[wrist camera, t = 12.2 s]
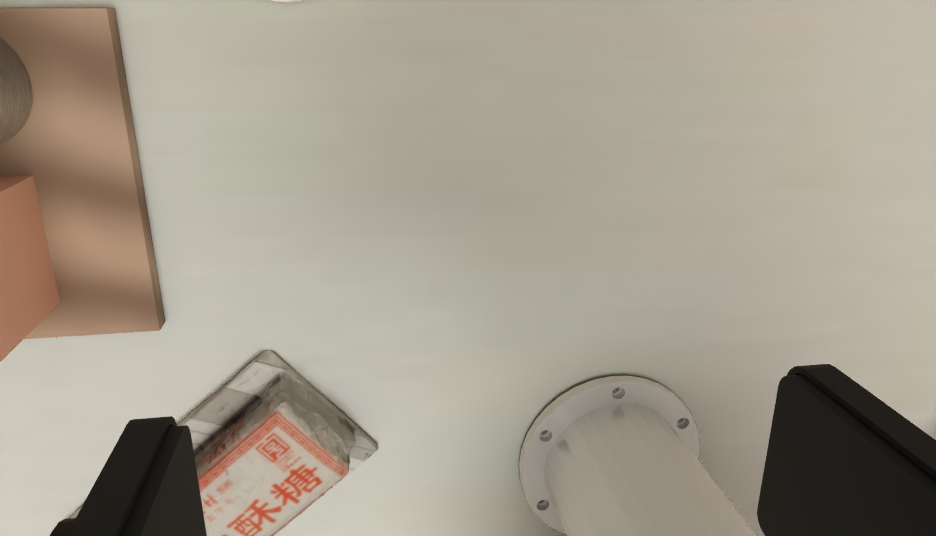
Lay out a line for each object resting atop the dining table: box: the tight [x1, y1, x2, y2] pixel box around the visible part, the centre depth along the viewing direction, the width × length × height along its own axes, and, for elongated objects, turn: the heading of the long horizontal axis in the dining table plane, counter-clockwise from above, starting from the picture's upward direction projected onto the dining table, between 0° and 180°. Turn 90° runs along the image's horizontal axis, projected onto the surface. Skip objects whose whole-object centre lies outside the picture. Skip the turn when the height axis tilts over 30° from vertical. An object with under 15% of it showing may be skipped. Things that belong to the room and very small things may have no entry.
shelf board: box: [0, 8, 165, 339], centre depth 35 cm, size 17×12×4 cm
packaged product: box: [71, 350, 379, 536], centre depth 43 cm, size 18×5×10 cm
